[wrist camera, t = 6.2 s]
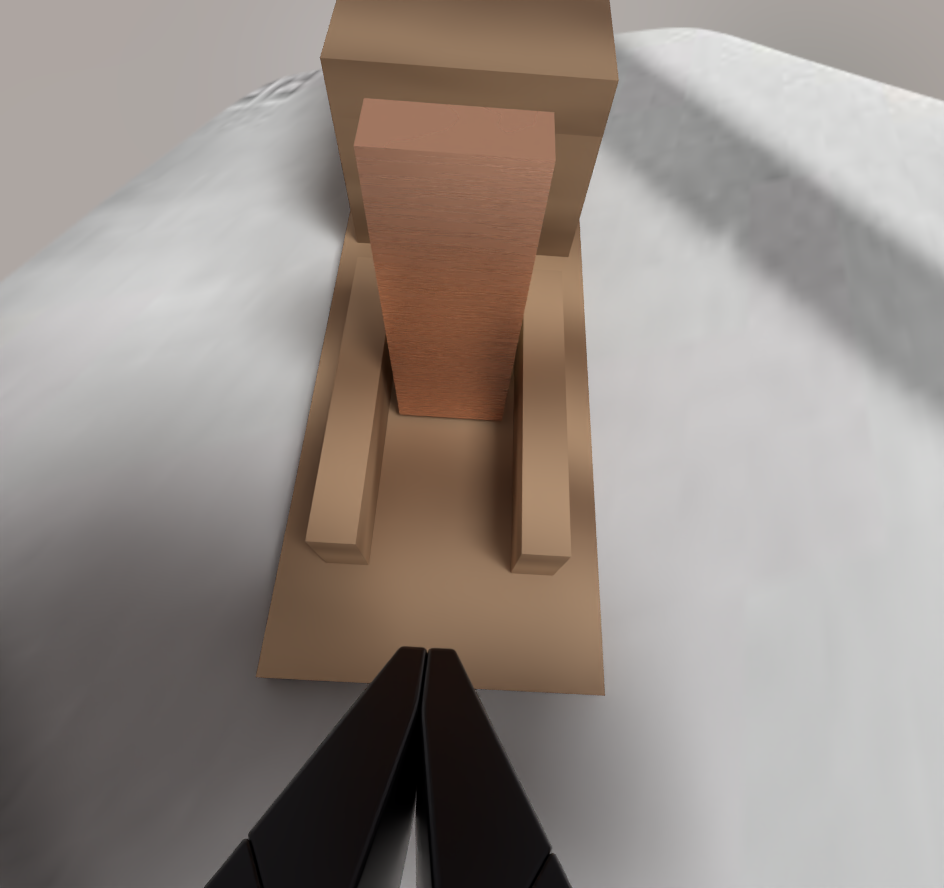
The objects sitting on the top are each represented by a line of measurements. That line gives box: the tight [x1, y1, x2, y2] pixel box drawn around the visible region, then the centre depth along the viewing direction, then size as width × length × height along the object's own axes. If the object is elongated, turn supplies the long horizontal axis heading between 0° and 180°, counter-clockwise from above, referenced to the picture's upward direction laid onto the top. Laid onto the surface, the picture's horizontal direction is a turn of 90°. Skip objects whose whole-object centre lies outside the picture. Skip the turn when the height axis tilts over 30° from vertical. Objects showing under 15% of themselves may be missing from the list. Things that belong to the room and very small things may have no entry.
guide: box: [256, 0, 619, 696], centre depth 16 cm, size 23×9×7 cm, turn 177°
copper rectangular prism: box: [354, 98, 556, 421], centre depth 15 cm, size 13×3×9 cm, turn 177°
